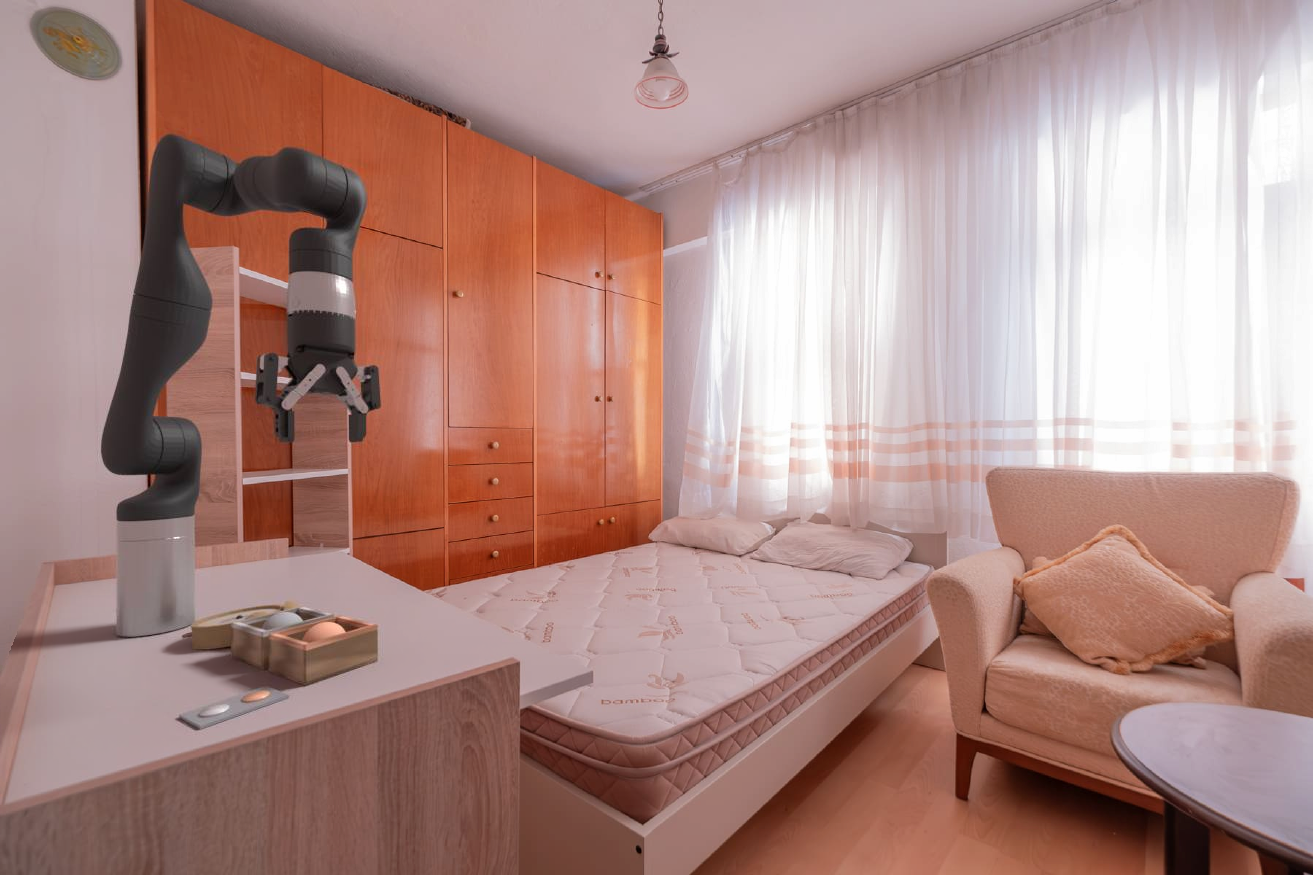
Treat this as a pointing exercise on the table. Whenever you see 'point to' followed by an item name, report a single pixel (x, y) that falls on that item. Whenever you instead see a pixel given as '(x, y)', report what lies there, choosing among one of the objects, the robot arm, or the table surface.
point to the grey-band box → (264, 635)
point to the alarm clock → (227, 625)
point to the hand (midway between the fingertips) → (322, 442)
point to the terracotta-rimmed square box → (322, 651)
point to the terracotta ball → (322, 631)
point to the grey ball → (281, 620)
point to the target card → (232, 707)
